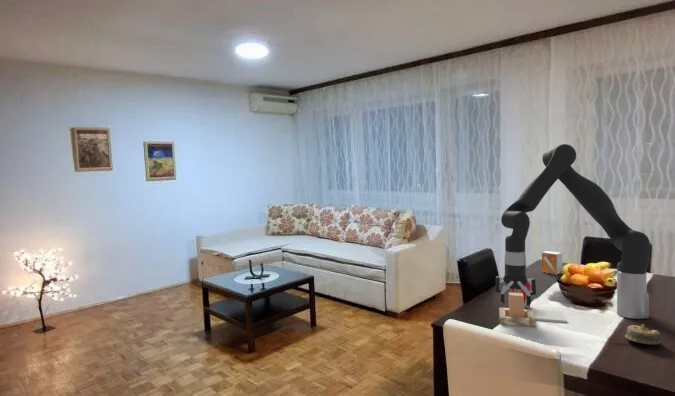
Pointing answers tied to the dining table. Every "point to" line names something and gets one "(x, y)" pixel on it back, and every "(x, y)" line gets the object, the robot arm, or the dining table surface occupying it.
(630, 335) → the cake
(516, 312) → the block
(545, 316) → the tile
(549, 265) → the small box
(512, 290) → the soda can
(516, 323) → the pocket frame
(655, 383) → the dining table surface
